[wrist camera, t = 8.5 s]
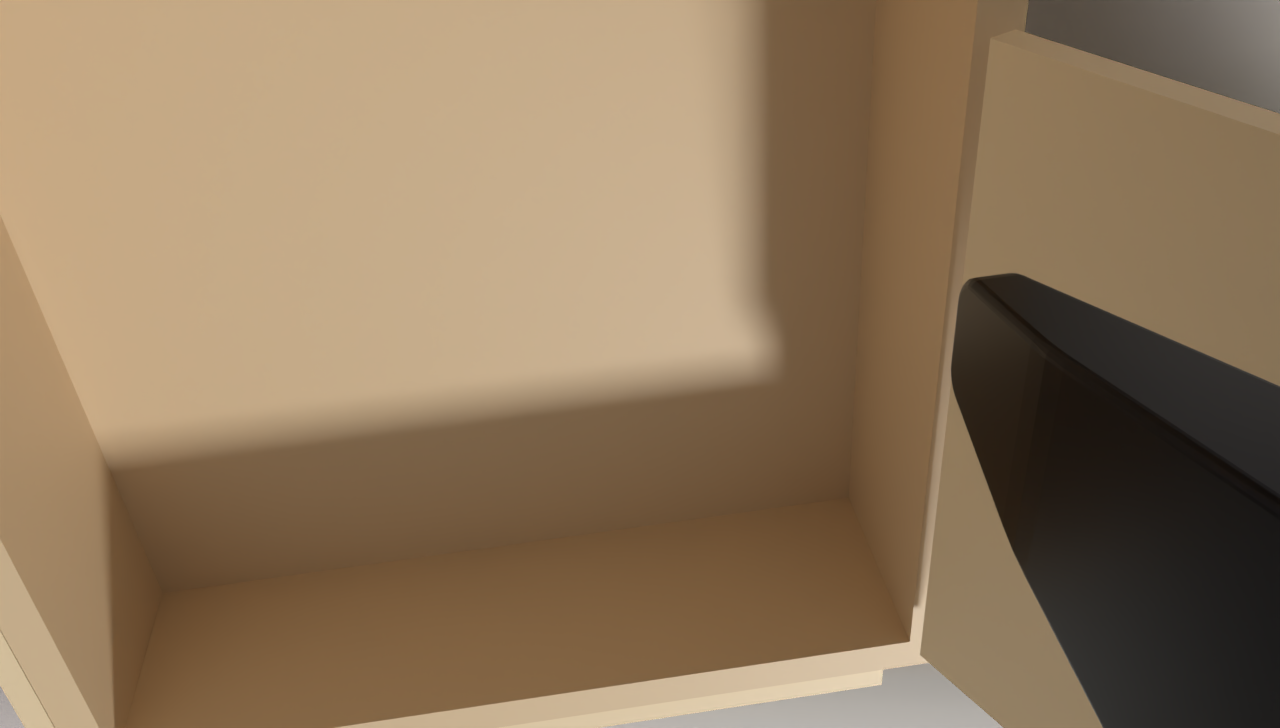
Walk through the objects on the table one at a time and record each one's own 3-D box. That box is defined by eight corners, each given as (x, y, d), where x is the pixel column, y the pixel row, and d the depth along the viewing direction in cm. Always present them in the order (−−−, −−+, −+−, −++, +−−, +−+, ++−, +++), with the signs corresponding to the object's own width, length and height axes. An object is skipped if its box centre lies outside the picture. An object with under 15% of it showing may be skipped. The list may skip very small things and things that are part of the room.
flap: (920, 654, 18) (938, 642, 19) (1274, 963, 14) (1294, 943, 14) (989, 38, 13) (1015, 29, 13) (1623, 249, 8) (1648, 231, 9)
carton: (870, 519, 23) (939, 678, 20) (126, 624, 22) (70, 810, 19) (960, -755, 12) (1142, -866, 9) (-475, -671, 11) (-849, -764, 8)
